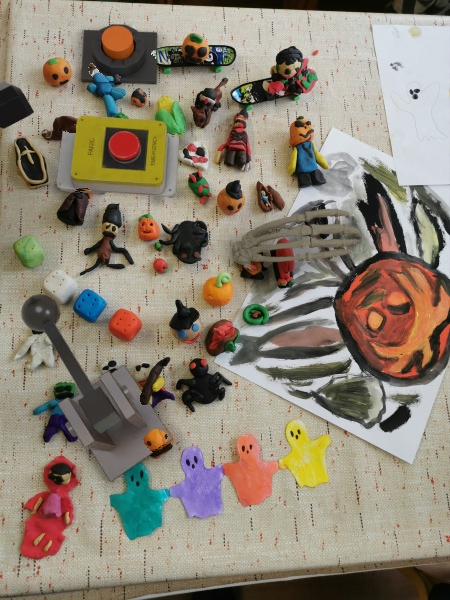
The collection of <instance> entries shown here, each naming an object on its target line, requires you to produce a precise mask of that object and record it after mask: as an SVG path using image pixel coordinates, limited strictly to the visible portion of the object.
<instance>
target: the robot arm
mask: <svg viewBox="0 0 450 600" xmlns="http://www.w3.org/2000/svg"><path fill="white" fill-rule="evenodd" d="M34 113H35V111H34V108H33V107H32V105H31V104H30V102H29V100H28V98H27V96H26V95H25V93H24V92H23V90H22V89H21V87H19V86H17V85H15V84H12V83H9V82H7V81H1V82H0V129H3V130H5V129H6V128H8V127H11V126H12V125H15V124H17V123H18V122H20V121H22V120H24V119H26V118H28V117H30V116H32V114H34Z"/></svg>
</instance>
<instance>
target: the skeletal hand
mask: <svg viewBox="0 0 450 600" xmlns="http://www.w3.org/2000/svg"><path fill="white" fill-rule="evenodd" d="M350 216H351V213H350V212H349V211H347V210H342V209H340V208H323V209H316V210H309V211H308V210H307V211H304V213H294V214H292V215H290V216H287V217H283V218H277V219H274V220H270V221H268V222H265V223H263V224H261V225H259V226H257V227H256V228H254V229H252V230H250V231H249V230H248V231H247V233H245V234H244V235H242V236H241V241H235V242H233V244H232V252H233V258H232V259H233V261H234V263H236V264H239V265H243V266H242V267H243V268H245V269H246V270H248V269H247V268H248V267H250V266H251V263H252V262H255V263H258V262H259V263H260V262H267V263H282V262H291V261H297V262H304V261H306V262H307V263H308V262H309V263H310V262H311V261H313V260H324V259H328V258H338V256H340V257H343V256H346V255H348V254H351V255H352V253H353V252H352V250H351V249H345V247H348V246H355V245H357V243H360V241H361V240H360V239H362V235H361V231H360V230H359V229H358V228H357V227H354V226H350V225H347V224H345V223H344V224H339V223H328V224H327V223H326V224H315V223H311V224H310V225H307V224H303V223H304V222H305V223H310V222H311V221H312V220H314V219H316V218H318V219H319V218H327V217H330V218H332V217H334V218H338V217H345V219H350ZM290 223H295V224H296V225H299V226H297V227H293V226H290V225H288V224H290ZM278 229H280V230H282V231H278V232H275V231H276V230H278ZM272 232H273V233H272ZM264 233H266V234H265V235H262V234H264ZM335 234H338V235H343V236H346V235H353V234H354V235H355V237H357V238H359V239H356V238H350V239H346V238H344V237H340V238H330V239H316V238H315V237H317V236H318V235H335ZM259 235H262V236H260V237H258V236H259ZM291 236H297V237H300V238H299V239H298V240H295V241H290V242H289V241H288V242H281V243H274V244H267V245H266V244H265V245H260V244H263V243H265V242H268V241H271V240H276V239H280V238H284V237H291ZM297 248H299V249H304V248H309V249H314V248H330V249H329V250H324V251H318V252H314V253H313V252H312V253H311V252H309V251H307V252H305V254H304V253H297V254H295V255H291V256H265V255H264V256H263V255H262V254H261V253H263V252H269V251H275V250H284V249H297ZM331 248H334V249H331ZM250 271H251V272H255V271H254V270H250Z"/></svg>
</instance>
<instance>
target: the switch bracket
mask: <svg viewBox="0 0 450 600" xmlns="http://www.w3.org/2000/svg"><path fill="white" fill-rule="evenodd" d="M98 378H99V380H98V381H96V382H95V383H93V384H92V385H93V387H94V388H95V389H97V388H98V387H101V389H102V390H103V391H104V392H105V394H106V395H107V396H108V398H109V400H110V401H111V403H112V404H113V406H114V408H115V409H116V411H117V413H118V414H119V416H120V417H121V419H122V420H121V421H119V422H118V423H116V424H115V425H113V426H112V427H110V428H109V429H107V430H106V431H104V432H103V433H101V434H100V433H99V432H98V431H97V430H96V429H95V428H94V427H93V426H92V425H91V423H90V421H89V420H88V418H87V416H86V414H85V413H84V411H83V409H82V408H81V406H80V404H79V403H78V400H80V399H81V398H83V397H84V396H83V395H82V393H81V392H80V393H78V394H77V395H75V396H74V397H72V398H70V397H65V398H64V399H63V400H61V401H59V402H58V403H57V405H58V407H59V409H60V410H61V412H62V414H63V416H64V417H65V419H66V420H67V422H66V423H65V427H66V429H67V430H68V432H69V434H70V435H71V436H72V437H73V438H76V437H77V438H78V440H79V441H80V443H81V445H82V447H83V448H84V449H89V450H90V452H91V453H92V456H94V458H95V460H96V461H97V462H98V465H99V466H100V468H101V469H102V471H103V473H104V474H105V476H106V477H107V479H108V481H109V482H110V483H112V482H114V481H115V480H117V479H118V478H119V477H121V476H122V475H124V474H125V473H126V472H128V471H130V470H131V469H133V468H134V467H135V466H137V465H138V464H140V463H141V462H143V461H144V460H145V459H147V458H148V457H149V456H151V455H153V454H154V453H153V452H152V451H150V449H149V448H147V446H146V445H145V444H144V440H143V439H144V437H145V436H146V435H147V434H148V433H149V432H150V431H151V430H153V429H159V430H162V431H164V432H165V433H166V434H167V436H168V437H167V439H168V440H167V442H166V443H167V444H169V442H171V441H172V440H173V437H172V435H171V434H170V432H169V431H168V429H167V428H166V426H165V424H164V423H163V421H162V420H161V418H160V417H159V415H158V413H157V412H156V411H155V409H154V408H153V406H152V405H151V402H149V404H148V405H142V404H141V402H140V395H141V393H142V392H143V391H142V389H141V387H140V386H139V384H138V382H137V381H136V380H135V378H134V377H133V375H132V374H131V372H130V371H129V369H128V368H127V366H126V365H125V364H123V365H122V366H119V368H117V369H115V370H114V371H112V372H111V371H110V370H107V371H106V372H104V373H102V374H100V375H99V377H98Z"/></svg>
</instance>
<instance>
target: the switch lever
mask: <svg viewBox="0 0 450 600" xmlns="http://www.w3.org/2000/svg"><path fill="white" fill-rule="evenodd" d="M20 315H21V320H22V322H23V323H24V324H25V326H26V327H27V328H29V329H31V330H33V331H35V332H44V333H45V334H46V336H47V337H48V339H49V341H50V342H51V345H52V346H53V348H54V349H55V351H56V353H57V354H58V356H59V358H60V359H61V361H62V363H63V364H64V366H65V368H66V369H67V371H68V373H69V374H70V376H71V378H72V379H73V381H74V383H75V385H76V386H77V388H78V390H79V392H80V393H82V395H83V396H84V397H83V398H81V399H80V400H78V403H79V404H80V406H81V408H82V409H83V411H84V413H85V414H86V416H87V418H88V420H89V421H90V423H91V425H92V426H93V427H94V428H95V429H96V430H97V431H98V432H99V433H100V434H101V433H103V432H104V431H106V430H107V429H109V428H110V427H112V426H113V425H115V424H116V423H118V422H119V421H121V420H122V419H121V417H120V416H119V414H118V413H117V411H116V409H115V408H114V406H113V404H112V403H111V401H110V400H109V398H108V396H107V395H106V394H105V392H104V391H103V390H102V389H101V387H98V388H97V389H95V388H94V387H93V385H94V384H93V383H92V381H91V380H90V379H89V377H88V375H87V374H86V372H85V370H84V368H83V367H82V365H81V364H80V362H79V361H78V359H77V357H76V356H75V354H74V352H73V351H72V348H71V347H70V346H69V344H68V342H67V341H66V339H65V338H64V336H63V334H62V332H61V330H60V329H59V327H58V326H57V324H58V323H59V321H60V318H61V307H60V304H59V302H58V301H57V300H56V299H55V298H54V297H52V296H50V295H49V294H44V293H37V294H33V295H31V296H30V297H28V298H27V299H26V300H25V301H24V303H23V304H22V306H21V311H20Z"/></svg>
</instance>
